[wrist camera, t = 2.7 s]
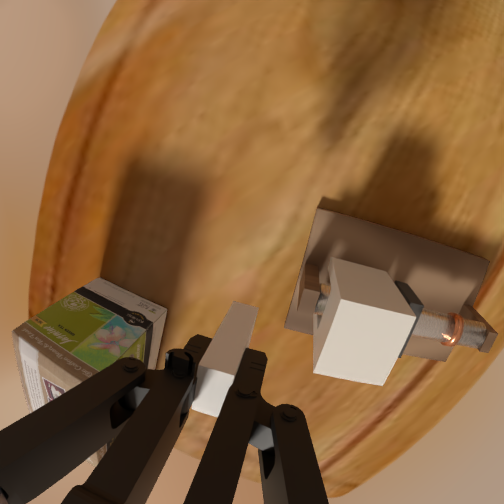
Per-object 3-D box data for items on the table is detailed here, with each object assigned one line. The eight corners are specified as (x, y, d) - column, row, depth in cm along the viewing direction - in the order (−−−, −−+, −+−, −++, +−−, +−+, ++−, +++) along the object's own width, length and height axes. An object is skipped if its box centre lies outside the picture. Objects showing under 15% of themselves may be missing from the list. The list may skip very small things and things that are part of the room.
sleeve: (331, 256, 25) (341, 298, 17) (386, 271, 25) (416, 317, 17) (313, 313, 27) (313, 372, 19) (365, 326, 26) (382, 385, 18)
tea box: (97, 273, 34) (7, 327, 20) (170, 307, 33) (95, 388, 19) (91, 364, 38) (30, 426, 24) (152, 396, 38) (100, 473, 24)
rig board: (317, 207, 28) (320, 220, 21) (485, 258, 26) (521, 282, 19) (284, 323, 31) (277, 364, 24) (442, 356, 29) (464, 395, 22)
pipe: (321, 274, 24) (323, 288, 22) (478, 314, 23) (492, 328, 20) (312, 306, 25) (311, 323, 23) (466, 341, 24) (477, 357, 21)
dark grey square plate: (395, 280, 24) (410, 302, 20) (407, 283, 24) (424, 305, 20) (377, 327, 26) (387, 355, 21) (388, 329, 26) (400, 357, 21)
